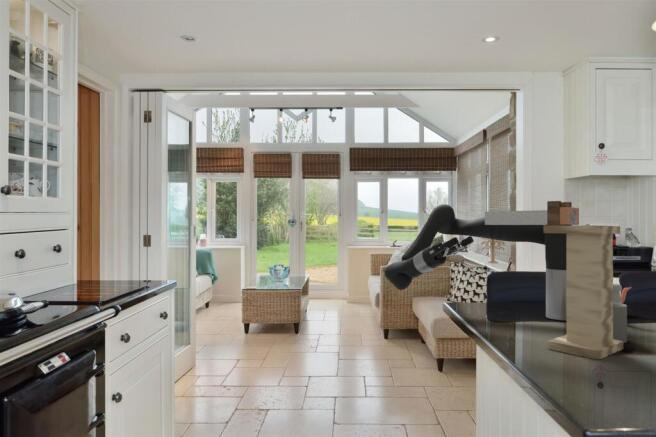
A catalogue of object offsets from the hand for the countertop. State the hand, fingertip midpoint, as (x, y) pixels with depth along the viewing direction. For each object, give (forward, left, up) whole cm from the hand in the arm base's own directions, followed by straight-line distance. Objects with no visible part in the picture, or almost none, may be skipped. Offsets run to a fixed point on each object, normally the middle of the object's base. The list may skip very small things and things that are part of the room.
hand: (464, 239), depth 142 cm
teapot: (-60, +18, -28) cm, 69 cm away
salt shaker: (-44, +28, -28) cm, 59 cm away
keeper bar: (0, +21, +5) cm, 21 cm away
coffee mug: (-18, +34, -28) cm, 48 cm away
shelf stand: (0, +35, -28) cm, 45 cm away
